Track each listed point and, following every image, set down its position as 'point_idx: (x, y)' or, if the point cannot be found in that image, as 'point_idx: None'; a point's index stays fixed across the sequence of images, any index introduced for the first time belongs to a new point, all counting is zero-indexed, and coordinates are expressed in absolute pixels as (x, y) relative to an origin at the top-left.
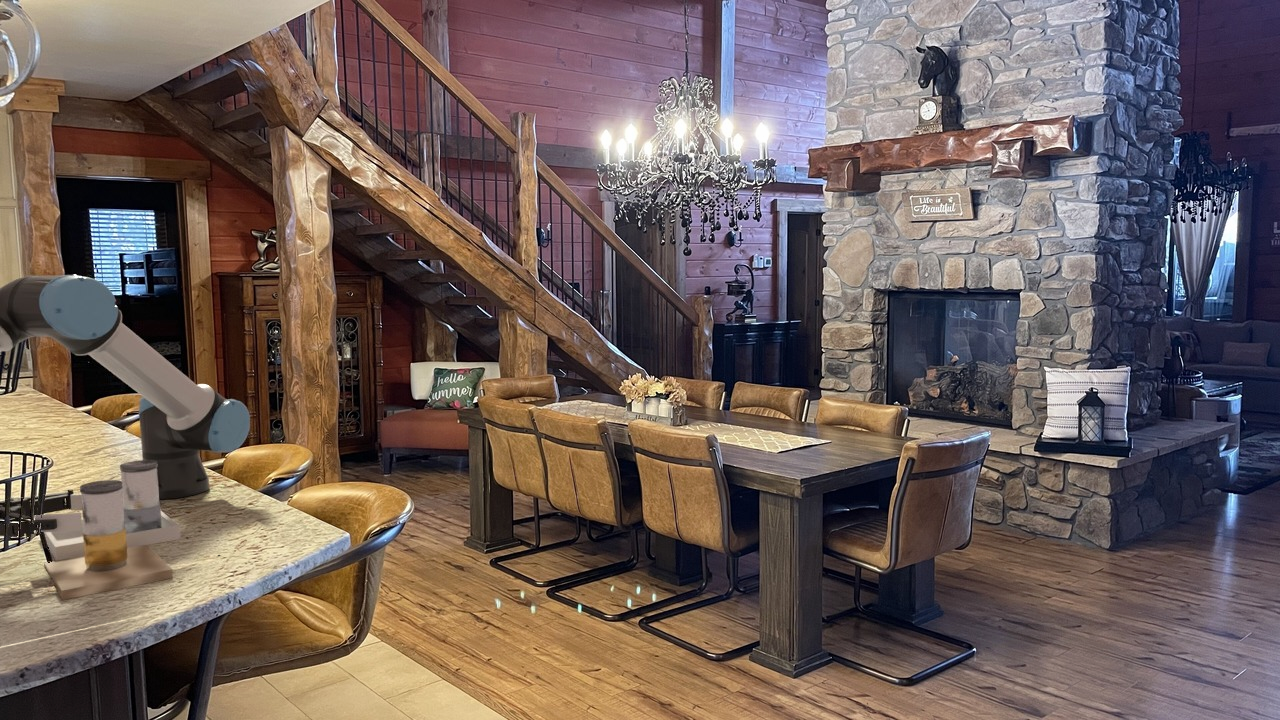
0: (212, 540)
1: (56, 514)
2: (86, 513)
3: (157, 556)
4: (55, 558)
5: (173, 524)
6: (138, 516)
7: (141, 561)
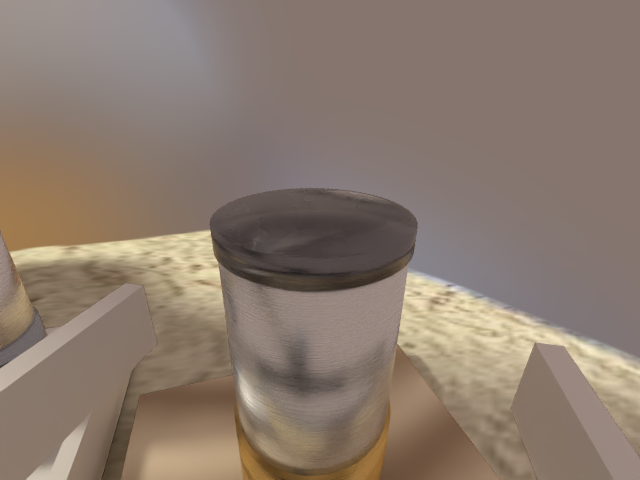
0: (154, 312)
1: (624, 472)
2: (380, 369)
3: None
4: None
5: None
6: None
7: None
